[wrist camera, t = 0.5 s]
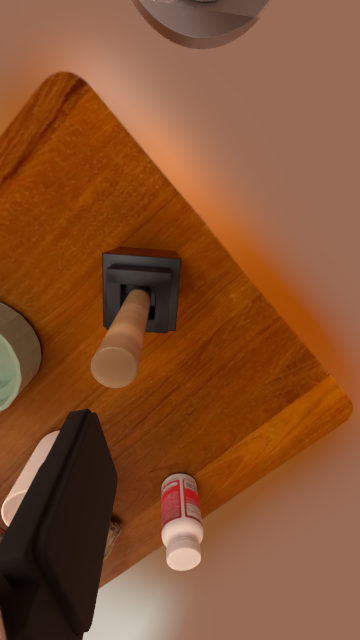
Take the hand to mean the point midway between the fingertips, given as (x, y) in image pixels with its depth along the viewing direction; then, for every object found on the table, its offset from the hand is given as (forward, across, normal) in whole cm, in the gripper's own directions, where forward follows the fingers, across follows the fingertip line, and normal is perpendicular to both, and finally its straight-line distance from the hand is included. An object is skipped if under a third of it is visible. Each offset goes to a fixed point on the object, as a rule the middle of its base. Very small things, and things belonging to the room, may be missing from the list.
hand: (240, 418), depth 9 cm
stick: (+17, +4, -1) cm, 18 cm away
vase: (+27, +4, -1) cm, 27 cm away
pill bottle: (+27, +7, +36) cm, 45 cm away
